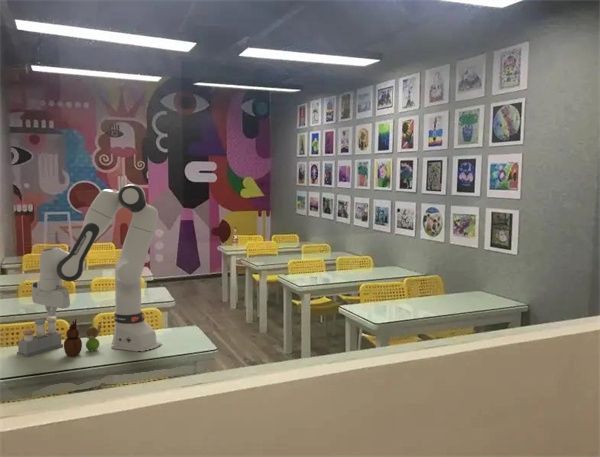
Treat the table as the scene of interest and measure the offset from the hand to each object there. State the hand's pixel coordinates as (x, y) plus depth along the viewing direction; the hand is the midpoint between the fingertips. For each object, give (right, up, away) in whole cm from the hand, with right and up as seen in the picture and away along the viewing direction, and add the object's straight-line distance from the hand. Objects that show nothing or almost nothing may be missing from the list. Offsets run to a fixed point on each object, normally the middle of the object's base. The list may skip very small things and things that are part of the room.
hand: (51, 315), depth 224 cm
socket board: (-3, -14, -4) cm, 15 cm away
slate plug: (-3, -9, -4) cm, 10 cm away
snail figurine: (+19, -15, -2) cm, 24 cm away
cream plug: (0, -9, +1) cm, 9 cm away
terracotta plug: (-5, -13, -9) cm, 16 cm away
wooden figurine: (+14, -15, -9) cm, 22 cm away
